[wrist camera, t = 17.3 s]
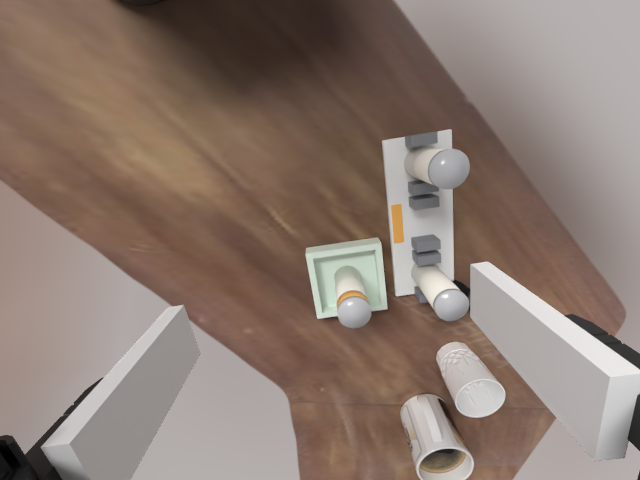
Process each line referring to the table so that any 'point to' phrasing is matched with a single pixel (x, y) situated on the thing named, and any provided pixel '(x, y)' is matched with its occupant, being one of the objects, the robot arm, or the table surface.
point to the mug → (435, 439)
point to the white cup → (469, 381)
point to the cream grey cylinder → (438, 166)
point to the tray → (351, 253)
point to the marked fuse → (351, 298)
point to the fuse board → (417, 213)
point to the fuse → (440, 292)
